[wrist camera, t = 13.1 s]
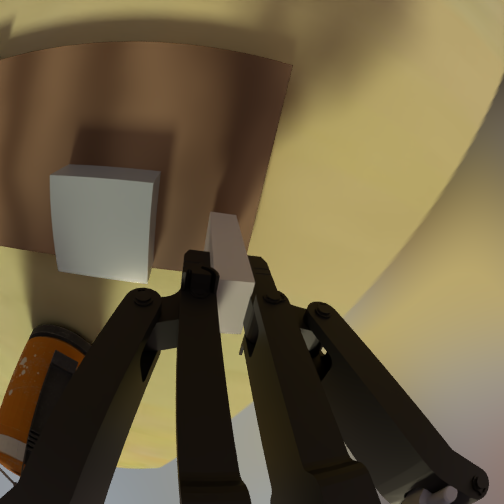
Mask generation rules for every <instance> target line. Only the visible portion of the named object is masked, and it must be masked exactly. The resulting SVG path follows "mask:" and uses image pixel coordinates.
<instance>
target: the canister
mask: <svg viewBox="0 0 504 504" xmlns="http://www.w3.org/2000/svg"><path fill="white" fill-rule="evenodd" d="M90 347H91V345H90V344H89V343H88V342H87V341H85V340H84V339H83V338H81V337H80V336H78V335H77V334H75V333H73V332H71V331H69V330H67V329H65V328H62V327H59V326H55V325H40V326H37V327H36V328H35V329H34V330H33V332H32V334H31V336H30V338H29V340H28V342H27V344H26V346H25V348H24V350H23V352H22V354H21V357H20V359H19V361H18V363H17V366H16V368H15V370H14V373H13V375H12V378H11V380H10V383H9V385H8V388H7V391H6V393H5V396H4V399H3V402H2V405H1V408H0V464H2V465H3V466H4V467H5V468H7V469H8V470H10V471H11V472H13V473H15V474H16V475H18V476H20V477H21V474H22V472H23V470H24V467H25V465H26V463H27V461H28V459H29V456H30V454H31V452H32V450H33V448H34V446H35V444H36V442H37V440H38V438H39V436H40V434H41V432H42V430H43V428H44V426H45V424H46V422H47V420H48V418H49V416H50V415H51V413H52V411H53V409H54V407H55V406H56V404H57V402H58V400H59V398H60V397H61V395H62V393H63V391H64V390H65V388H66V386H67V385H68V383H69V381H70V379H71V378H72V376H73V374H74V373H75V371H76V370H77V368H78V366H79V365H80V363H81V361H82V360H83V358H84V357H85V355H86V354H87V352H88V350H89V349H90ZM0 471H1V472H2V473H3V474H4V475H5V476H6V477H7V478H8V479H9V480H10V481H11V482H12V483H13V485H14V486H15V485H16V484H18V483H16V482H15V483H14V482H13V481H12V480H11V479H10V478H9V477H8V475H6V473H5V472H4V471H2V469H1V468H0Z"/></svg>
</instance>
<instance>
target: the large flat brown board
mask: <svg viewBox="0 0 504 504" xmlns="http://www.w3.org/2000/svg"><path fill="white" fill-rule="evenodd" d="M292 67H293V65H290V64H286V63H283V62H279V61H275V60H272V59H268V58H264V57H259V56H255V55H250V54H246V53H241V52H236V51H230V50H225V49H219V48H212V47H205V46H197V45H189V44H178V43H165V42H138V41H126V42H99V43H87V44H77V45H69V46H61V47H55V48H49V49H43V50H38V51H33V52H29V53H24V54H20V55H16V56H12V57H9V58H5V59H2V60H0V246H4V247H10V248H16V249H22V250H28V251H35V252H41V253H48V254H54V255H56V253H55V246H54V238H53V228H52V217H51V202H50V175H51V174H52V173H54V172H56V171H58V170H60V169H61V168H63V167H65V166H67V165H69V164H75V165H93V166H108V167H121V168H133V169H143V170H153V171H161V176H160V184H159V193H158V203H157V214H156V227H155V242H154V262H153V265H152V268H158V269H167V270H175V271H183V262H184V254H185V253H186V252H187V251H188V250H189V249H190V250H199V251H204V246H205V240H206V234H207V228H208V222H209V216H210V212H217V213H224V214H231V215H236V216H237V220H238V224H239V227H240V231H241V234H242V238H243V241H244V245H245V249H246V252H247V251H248V246H249V242H250V238H251V234H252V230H253V226H254V222H255V217H256V213H257V209H258V205H259V201H260V197H261V193H262V189H263V184H264V180H265V176H266V172H267V168H268V164H269V160H270V156H271V152H272V148H273V144H274V140H275V136H276V131H277V127H278V123H279V119H280V115H281V111H282V107H283V103H284V99H285V95H286V91H287V87H288V83H289V79H290V75H291V71H292Z"/></svg>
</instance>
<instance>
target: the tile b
mask: <svg viewBox="0 0 504 504" xmlns="http://www.w3.org/2000/svg"><path fill="white" fill-rule="evenodd" d="M160 176H161V171H153V170H143V169H133V168H121V167H108V166H93V165H75V164H69V165H67V166H65V167H63V168H61V169H60V170H58V171H56V172H54V173H52V174H51V175H50V202H51V217H52V228H53V238H54V246H55V253H56V260H57V266H58V271H61V272H67V273H73V274H79V275H86V276H92V277H99V278H106V279H113V280H120V281H128V282H135V283H143V284H148V280H149V277H150V273H151V269H152V265H153V262H154V242H155V227H156V214H157V203H158V193H159V184H160Z"/></svg>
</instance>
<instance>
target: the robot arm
mask: <svg viewBox="0 0 504 504" xmlns="http://www.w3.org/2000/svg"><path fill="white" fill-rule="evenodd" d="M243 325H244V331H245V334H244V338H243V341H242V344H241V348H240V352H239V355H242V353H243V350H244V353H245V359H246V364H247V370H248V375H249V380H250V386H251V391H252V396H253V401H254V406H255V411H256V416H257V421H258V426H259V431H260V436H261V441H262V446H263V450H264V455H265V460H266V464H267V469H268V474H269V478H270V483H271V488H272V495H271V500H270V501H271V502H270V503H271V504H381V502H380V499H379V497H378V494H377V492H376V489H377V490H378V491H379V493H380V494H381V495H382V496H383V497H384V498H385V499H386V500H387V501H388V502H389V503H390V504H472V503H474V502H476V501H478V500H480V499H482V498H483V497H484V496H485V495H486V493H487V491H488V486H489V480H488V476H487V474H486V473H485V471H484V470H483V469H481V468H479V467H478V466H476V465H475V464H473V463H471V462H470V461H469V460H467V459H466V458H464V457H462V456H461V455H459V454H458V453H456V452H455V451H453V450H452V449H451V448H450V447H449V445H448V444H447V443H446V441H445V440H444V439H443V438H442V436H441V435H440V434H439V433H438V431H437V430H436V429H435V428H434V426H433V425H432V424H431V423H430V421H429V420H428V419H427V418H426V416H425V415H424V414H423V413H422V412H421V410H420V409H419V408H418V407H417V405H416V404H415V403H414V402H413V401H412V399H411V398H410V397H409V396H408V395H407V393H406V392H405V391H404V390H403V388H402V387H401V386H400V385H399V384H398V382H397V381H396V380H395V379H394V378H393V376H392V375H391V374H390V373H389V372H388V370H387V369H386V368H385V367H384V366H383V365H382V363H381V362H380V361H379V360H378V359H377V358H376V357H375V355H374V354H373V353H372V352H371V350H370V349H369V348H368V347H367V346H366V345H365V343H364V342H363V341H362V340H361V339H360V338H359V337H358V335H357V334H356V333H355V332H354V331H353V330H352V329H351V327H350V326H349V325H348V324H347V323H346V322H345V321H344V319H343V318H342V317H341V316H340V315H339V314H338V312H337V311H336V310H335V309H334V308H333V307H331V306H330V305H328V304H326V303H323V302H312V303H310V304H309V305H308V307H307V309H304V308H300V307H296V306H293V305H291V304H290V303H289V300H288V298H287V297H286V296H285V295H284V294H283V293H282V292H280V291H277V288H276V286H275V283H274V281H273V278H272V275H271V273H270V270H269V267H268V265H267V263H266V262H265V261H264V260H263V259H262V258H261V257H257V256H248V255H247V252H246V249H245V245H244V241H243V238H242V234H241V231H240V227H239V224H238V220H237V216H236V215H231V214H224V213H217V212H210V216H209V222H208V228H207V234H206V240H205V246H204V251H199V250H190V249H189V250H188V251H187V252H186V253H185V254H184V262H183V271H182V281H181V289H180V290H179V291H178V292H177V293H176V294H173V295H171V296H167V297H161V296H160V295H159V294H158V293H157V292H156V291H154V290H152V289H148V288H136V289H134V290H131V291H130V292H129V293H128V294H127V295H126V296H125V297H124V299H123V300H122V302H121V303H120V304H119V306H118V307H117V309H116V310H115V312H114V313H113V314H112V316H111V317H110V319H109V320H108V322H107V323H106V325H105V326H104V328H103V329H102V331H101V332H100V334H99V335H98V337H97V338H96V340H95V341H94V343H93V344H92V346H91V347H90V349H89V350H88V352H87V354H86V355H85V357H84V358H83V360H82V361H81V363H80V365H79V366H78V368H77V370H76V371H75V373H74V374H73V376H72V378H71V379H70V381H69V383H68V385H67V386H66V388H65V390H64V391H63V393H62V395H61V397H60V398H59V400H58V402H57V404H56V406H55V407H54V409H53V411H52V413H51V415H50V416H49V418H48V420H47V422H46V424H45V426H44V428H43V430H42V432H41V434H40V436H39V438H38V440H37V442H36V444H35V446H34V448H33V450H32V452H31V454H30V456H29V459H28V461H27V463H26V465H25V467H24V470H23V472H22V474H21V477H20V479H19V482H18V484H16V485H15V486H14V487H13V488H12V489H11V490H10V491H8V492H7V493H6V494H5V495H4V496H3V497H2V498H0V504H104V502H105V499H106V495H107V492H108V489H109V486H110V483H111V480H112V478H113V474H114V472H115V469H116V466H117V463H118V460H119V457H120V455H121V452H122V449H123V446H124V444H125V441H126V438H127V436H128V433H129V430H130V428H131V425H132V422H133V420H134V417H135V414H136V412H137V409H138V407H139V404H140V402H141V399H142V397H143V394H144V392H145V389H146V387H147V384H148V382H149V379H150V377H151V374H152V372H153V370H154V367H155V365H156V362H157V360H158V358H159V355H160V353H161V350H165V349H171V348H177V361H176V444H177V466H178V482H179V495H180V504H251V499H250V495H249V491H248V489H247V487H246V485H245V484H244V482H243V481H242V479H241V477H240V473H239V467H238V461H237V455H236V449H235V442H234V437H233V430H232V422H231V415H230V408H229V401H228V394H227V386H226V378H225V370H224V362H223V353H222V344H221V335H220V333H229V334H241V332H242V328H243ZM322 347H324V348H325V350H326V351H327V353H326V354H323V353H322V351H321V349H322ZM344 442H345V444H346V445H347V447H348V448H349V450H350V451H351V453H352V454H353V456H354V457H355V459H356V460H357V461H354V460H352V459H351V458H350V456H349V454H348V452H347V449H346V446H345V444H344ZM375 488H376V489H375Z"/></svg>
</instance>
